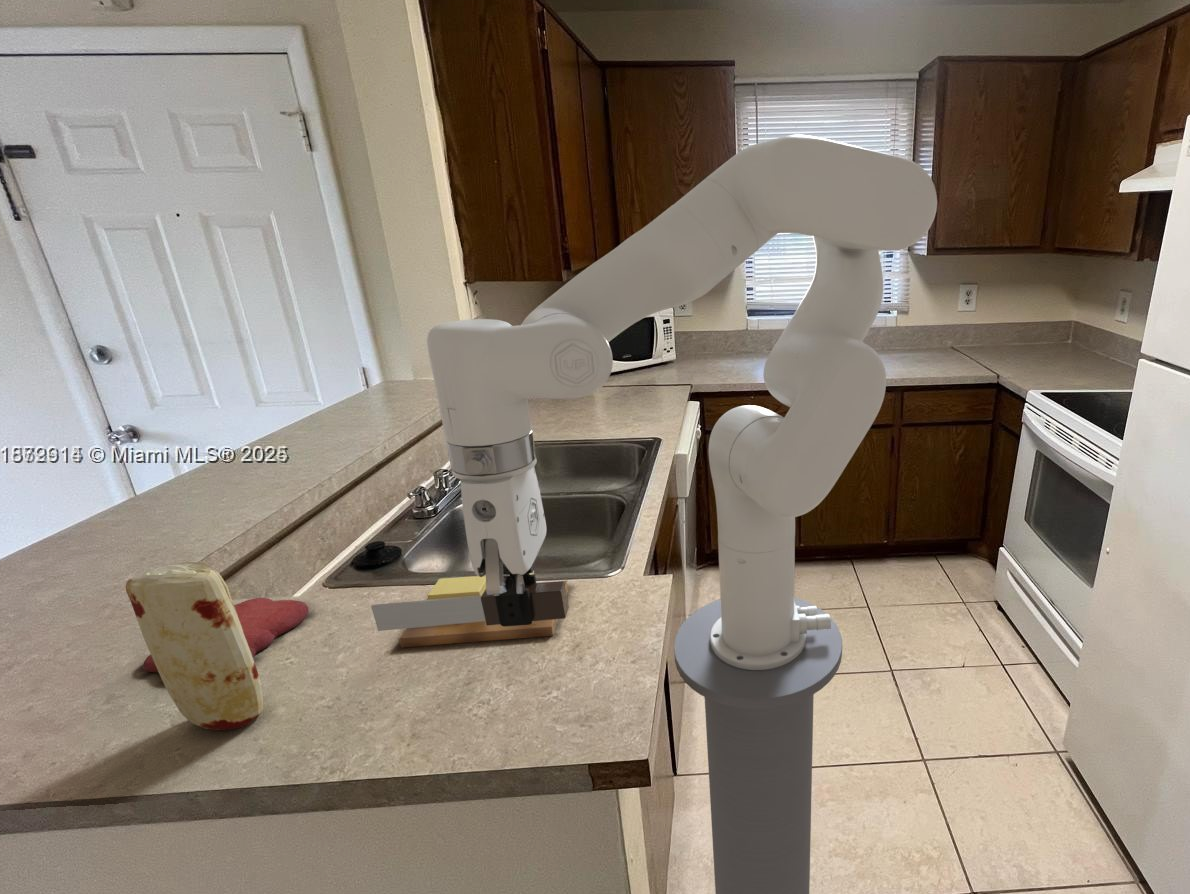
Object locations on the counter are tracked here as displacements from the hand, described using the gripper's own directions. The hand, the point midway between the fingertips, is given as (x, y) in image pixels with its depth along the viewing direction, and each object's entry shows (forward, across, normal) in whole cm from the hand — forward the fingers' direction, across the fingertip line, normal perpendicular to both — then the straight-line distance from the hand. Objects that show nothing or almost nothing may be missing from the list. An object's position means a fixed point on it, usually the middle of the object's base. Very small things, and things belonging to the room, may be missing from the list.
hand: (520, 615), depth 64 cm
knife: (0, 0, +5) cm, 5 cm away
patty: (+15, +22, +46) cm, 53 cm away
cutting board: (+15, +23, +12) cm, 29 cm away
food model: (+15, +6, +36) cm, 39 cm away
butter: (+13, +24, +16) cm, 31 cm away
